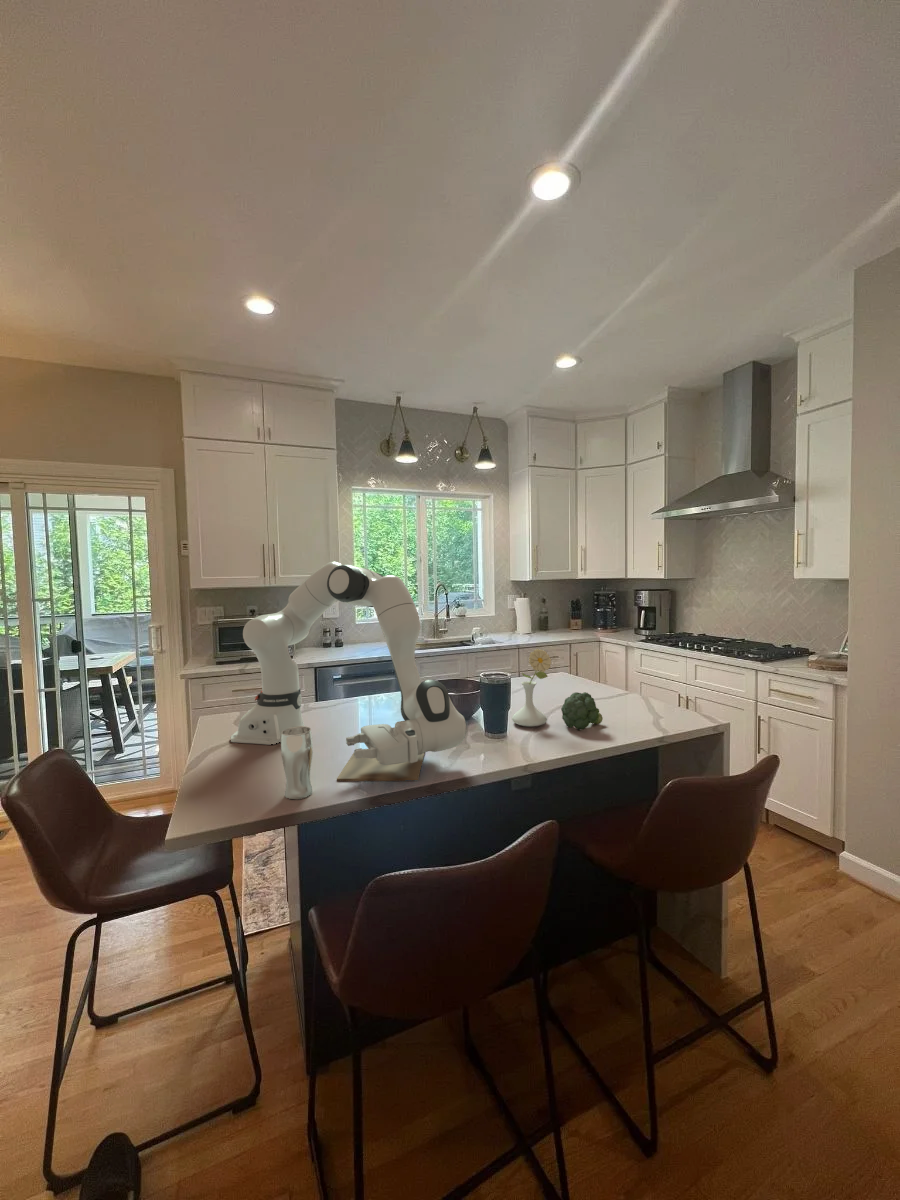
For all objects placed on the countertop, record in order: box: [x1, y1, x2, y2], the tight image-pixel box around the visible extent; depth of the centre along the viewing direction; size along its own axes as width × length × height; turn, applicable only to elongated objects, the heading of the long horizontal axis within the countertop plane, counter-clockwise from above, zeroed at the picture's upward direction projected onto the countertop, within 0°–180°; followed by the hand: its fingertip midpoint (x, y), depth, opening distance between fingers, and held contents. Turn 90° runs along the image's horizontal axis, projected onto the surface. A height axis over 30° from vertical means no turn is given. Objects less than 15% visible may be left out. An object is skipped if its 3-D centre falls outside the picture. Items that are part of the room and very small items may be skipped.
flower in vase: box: [511, 648, 552, 727], centre depth 162 cm, size 13×11×25 cm
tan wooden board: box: [336, 752, 426, 782], centre depth 131 cm, size 20×20×1 cm
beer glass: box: [280, 725, 314, 800], centre depth 114 cm, size 7×7×15 cm
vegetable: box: [560, 692, 604, 730], centre depth 158 cm, size 12×13×15 cm
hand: (350, 747), depth 119 cm, fingers open, 8 cm apart
